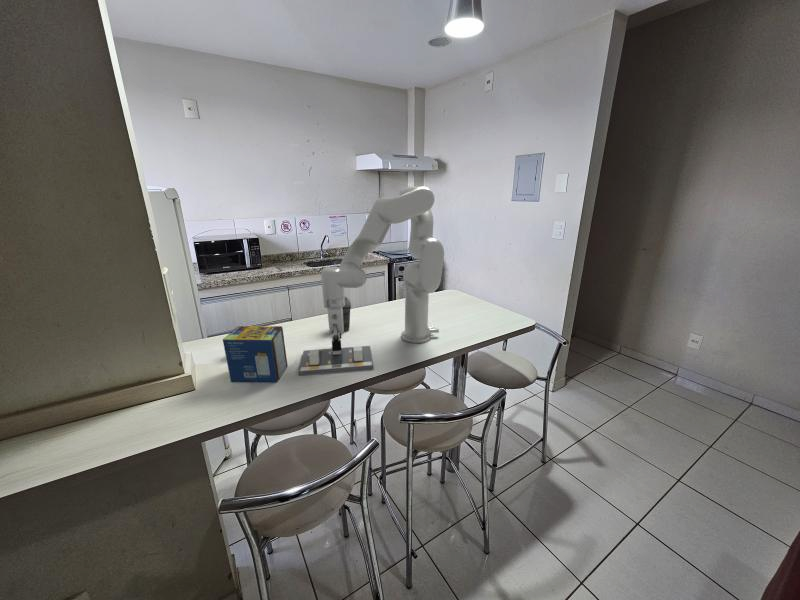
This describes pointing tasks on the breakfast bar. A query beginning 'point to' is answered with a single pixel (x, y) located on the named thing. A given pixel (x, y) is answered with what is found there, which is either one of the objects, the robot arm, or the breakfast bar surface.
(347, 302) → the beverage cup
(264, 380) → the protein box
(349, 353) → the switch panel
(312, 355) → the switch
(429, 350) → the breakfast bar surface
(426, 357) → the breakfast bar surface
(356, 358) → the switch
